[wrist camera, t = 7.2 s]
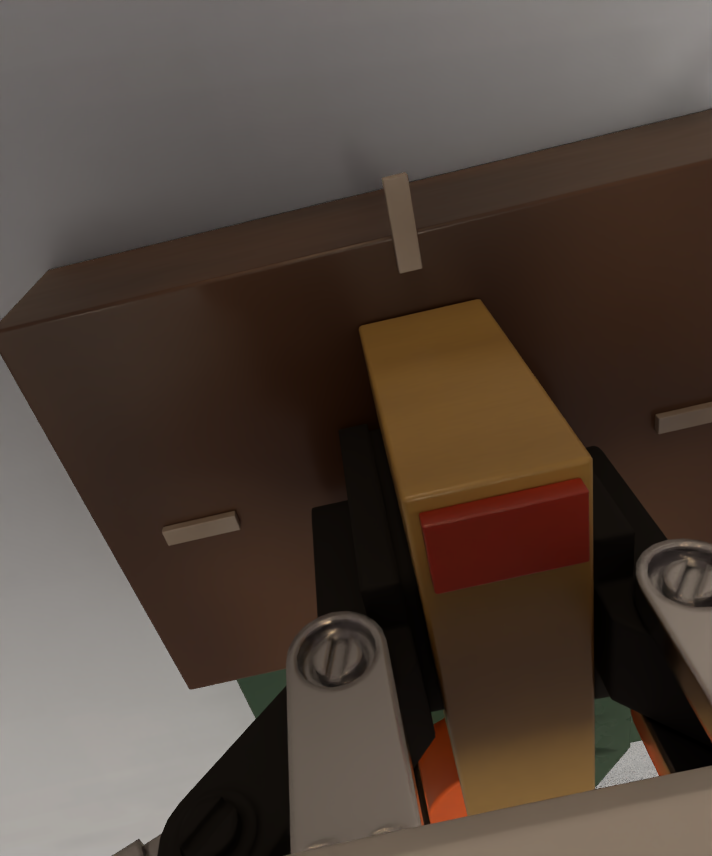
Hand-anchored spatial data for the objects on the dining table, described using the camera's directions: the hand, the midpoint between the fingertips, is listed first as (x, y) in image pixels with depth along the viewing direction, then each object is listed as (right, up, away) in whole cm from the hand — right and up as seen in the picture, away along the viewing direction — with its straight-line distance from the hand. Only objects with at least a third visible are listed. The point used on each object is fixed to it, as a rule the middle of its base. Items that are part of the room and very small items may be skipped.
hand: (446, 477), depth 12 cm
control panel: (0, +2, +3) cm, 3 cm away
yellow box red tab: (0, 0, 0) cm, 0 cm away
